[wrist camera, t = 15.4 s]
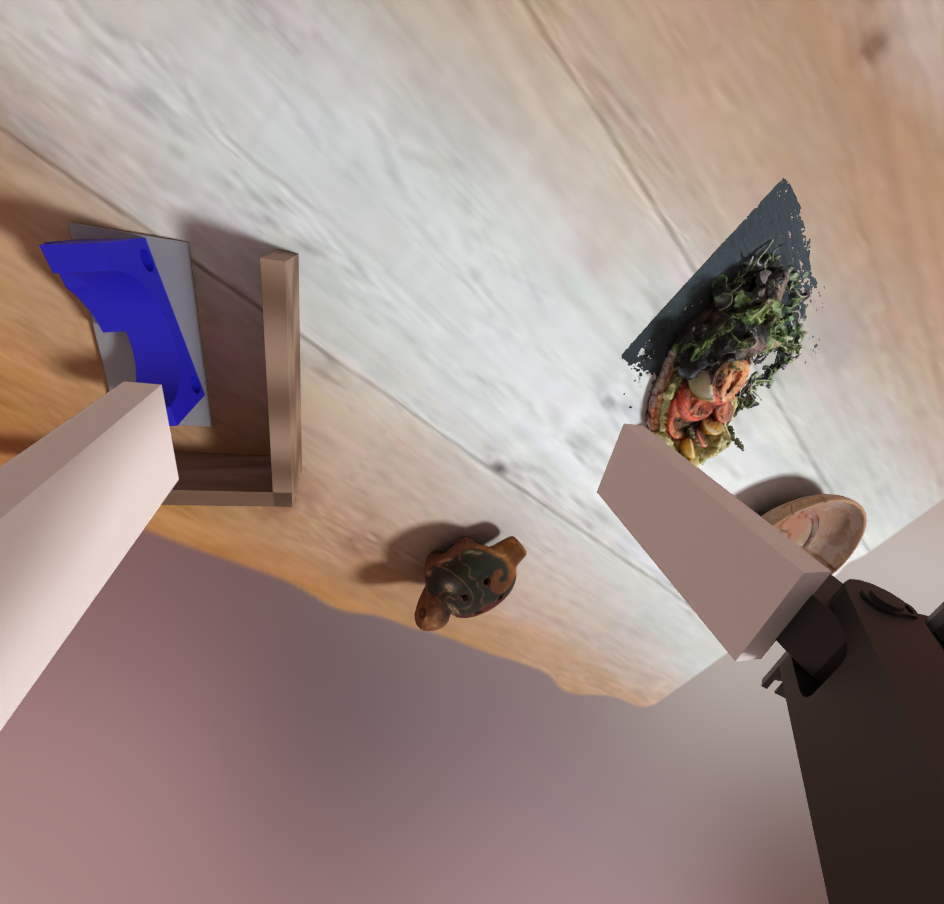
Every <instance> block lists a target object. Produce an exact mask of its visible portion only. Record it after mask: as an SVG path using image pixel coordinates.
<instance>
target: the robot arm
mask: <svg viewBox="0 0 944 904" xmlns="http://www.w3.org/2000/svg"><path fill="white" fill-rule="evenodd" d="M178 480H179V477H178V472H177V466H176V461H175V455H174V450H173V444H172V439H171V433H170V428H169V423H168V417H167V412H166V406H165V401H164V395H163V390H162V385H160V384H148V383H136V382H122V383H121V384H119V385H118V386H117V387H115V388H114V389H112V390H111V391H109V392H108V393H106V394H105V395H104V396H102V397H101V398H99V399H98V400H96V401H95V402H93V403H92V404H91V405H89V406H88V407H86V408H85V409H83V410H82V411H80V412H79V413H78V414H76V415H75V416H73V417H72V418H70V419H69V420H67V421H66V422H65V423H63V424H62V425H60V426H59V427H57V428H56V429H54V430H53V431H51V432H50V433H49V434H47V435H46V436H44V437H43V438H41V439H40V440H38V441H37V442H36V443H34V444H33V445H31V446H30V447H28V448H27V449H25V450H24V451H23V452H21V453H20V454H18V455H17V456H15V457H14V458H12V459H11V460H10V461H8V462H7V463H5V464H4V465H2V466H1V467H0V731H1V729H2V728H3V726H4V725H5V724H6V722H7V721H8V719H9V718H10V717H11V715H12V714H13V712H14V711H15V710H16V708H17V707H18V705H19V704H20V702H21V701H22V700H23V698H24V697H25V695H26V694H27V693H28V691H29V690H30V688H31V687H32V686H33V684H34V683H35V681H36V680H37V679H38V677H39V676H40V674H41V673H42V671H43V670H44V669H45V667H46V666H47V664H48V663H49V662H50V660H51V659H52V657H53V656H54V655H55V653H56V652H57V650H58V649H59V647H60V646H61V645H62V643H63V642H64V640H65V639H66V638H67V636H68V635H69V633H70V632H71V630H72V629H73V628H74V626H75V625H76V623H77V622H78V621H79V619H80V618H81V617H82V615H83V614H84V612H85V611H86V610H87V608H88V607H89V605H90V604H91V602H92V601H93V600H94V598H95V597H96V595H97V594H98V593H99V591H100V590H101V588H102V587H103V586H104V584H105V583H106V581H107V580H108V578H109V577H110V576H111V574H112V573H113V571H114V570H115V569H116V567H117V566H118V564H119V563H120V562H121V560H122V559H123V557H124V556H125V555H126V553H127V552H128V550H129V549H130V547H131V546H132V545H133V543H134V542H135V540H136V539H137V538H138V536H139V535H140V533H141V532H142V531H143V529H144V528H145V526H146V525H147V524H148V522H149V521H150V519H151V518H152V517H153V515H154V514H155V512H156V511H157V510H158V508H159V507H160V505H161V504H162V502H163V501H164V500H165V498H166V497H167V495H168V494H169V493H170V491H171V490H172V488H173V487H174V486H175V484H176V483H177V481H178ZM597 493H598V494H599V495H600V496H601V498H602V499H603V500H604V501H605V503H606V504H607V505H608V506H609V507H610V509H611V510H612V511H613V512H614V514H615V515H616V516H617V517H618V518H619V520H620V521H621V522H622V523H623V525H624V526H625V527H626V528H627V529H628V531H629V532H630V533H631V534H632V536H633V537H634V538H635V539H636V540H637V542H638V543H639V544H640V545H641V547H642V548H643V549H644V550H645V551H646V553H647V554H648V555H649V556H650V558H651V559H652V560H653V561H654V562H655V564H656V565H657V566H658V567H659V569H660V570H661V571H662V572H663V573H664V575H665V576H666V577H667V578H668V580H669V581H670V582H671V583H672V584H673V586H674V587H675V588H676V589H677V591H678V592H679V593H680V594H681V595H682V597H683V598H684V599H685V600H686V602H687V603H688V604H689V605H690V606H691V608H692V609H693V610H694V611H695V613H696V614H697V615H698V616H699V618H700V619H701V620H702V621H703V622H704V624H705V625H706V626H707V627H708V629H709V630H710V631H711V632H712V633H713V635H714V636H715V637H716V638H717V640H718V641H719V642H720V643H721V644H722V646H723V647H724V648H725V649H726V651H727V652H728V653H729V654H730V655H731V657H732V658H733V659H734V660H735V661H745V660H752V659H761V658H762V657H763V656H764V654H765V653H766V652H767V651H768V650H769V649H770V647H771V646H772V645H773V644H774V642H775V641H777V642H778V643H779V644H780V645H781V646H782V647H783V648H784V649H785V650H786V652H785V653H784V654H783V655H782V657H781V658H780V659H779V660H778V661H777V663H776V664H775V665H774V666H773V667H772V668H771V670H770V671H769V672H768V673H767V675H766V676H765V677H764V678H763V680H762V687H764V688H766V689H767V688H768V687H769V686H770V685H771V684H772V682H773V681H774V680H778V681H782V683H781V684H780V686H779V687H778V688H777V689H776V690H775V693H776V694H778V695H780V696H782V697H784V698H786V702H787V706H788V711H789V716H790V721H791V725H792V730H793V735H794V740H795V744H796V749H797V754H798V759H799V763H800V768H801V773H802V778H803V782H804V787H805V791H806V797H807V801H808V806H809V810H810V815H811V820H812V825H813V830H814V835H815V839H816V844H817V849H818V854H819V858H820V863H821V868H822V872H823V877H824V882H825V887H826V891H827V896H828V901H829V904H944V602H943V603H942V604H941V605H940V606H939V607H938V608H937V609H936V610H935V611H934V612H933V613H932V614H931V615H930V616H925V615H921V614H918V613H917V612H916V611H915V610H914V608H913V607H912V606H910V605H908V604H907V603H905V602H904V601H902V600H901V599H899V598H898V597H896V596H895V595H893V594H892V593H890V592H888V591H886V590H884V589H882V588H880V587H878V586H875V585H873V584H871V583H868V582H864V581H861V580H854V579H849V580H847V581H846V582H844V583H841V582H840V581H839V580H837V579H836V578H835V577H834V576H832V575H831V574H830V573H831V572H832V571H830V570H829V569H828V568H826V567H825V566H824V565H823V564H821V563H820V562H819V561H817V560H816V559H815V558H814V557H812V556H811V555H810V554H808V553H807V552H806V551H804V550H803V549H802V548H801V547H799V546H798V545H797V544H795V543H794V542H793V541H792V540H790V539H789V538H788V537H786V536H785V535H784V534H783V533H781V532H780V531H779V530H777V529H776V528H775V527H774V526H772V525H771V524H770V523H768V522H767V521H766V520H764V519H763V518H762V517H761V516H759V515H758V514H757V513H755V512H754V511H753V510H752V509H750V508H749V507H748V506H746V505H745V504H744V503H743V502H741V501H740V500H739V499H737V498H736V497H735V496H734V495H732V494H731V493H730V492H728V491H727V490H726V489H724V488H723V487H722V486H721V485H719V484H718V483H717V482H715V481H714V480H713V479H712V478H710V477H709V476H708V475H706V474H705V473H704V472H703V471H701V470H700V469H699V468H697V467H696V466H695V465H694V464H692V463H691V462H690V461H688V460H687V459H686V458H685V457H683V456H682V455H681V454H679V453H678V452H677V451H675V450H674V449H673V448H672V447H670V446H669V445H668V444H666V443H665V442H664V441H663V440H661V439H660V438H659V437H657V436H656V435H655V434H654V433H652V432H651V431H650V430H648V429H647V428H646V427H645V426H643V425H631V424H624V425H623V427H622V430H621V432H620V435H619V437H618V440H617V442H616V445H615V447H614V450H613V452H612V455H611V457H610V460H609V463H608V465H607V468H606V470H605V473H604V475H603V478H602V480H601V483H600V485H599V488H598V490H597Z"/></svg>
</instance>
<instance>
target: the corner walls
mask: <svg viewBox="0 0 944 904" xmlns="http://www.w3.org/2000/svg"><path fill="white" fill-rule="evenodd" d="M260 269H261V287H262V305H263V322H264V340H265V358H266V376H267V394H268V412H269V430H270V448H271V456H253V455H231V454H209V453H188V452H174V455H175V461H176V466H177V472H178V477H179V480H178V481H177V483H176V484H175V486H174V487H173V488H172V490H171V491H170V493H169V494H168V495H167V497H166V498H165V500H164V501H163V502H162V504H161V505H210V506H277V507H292V506H293V502H294V498H295V494H296V490H297V487H298V483H299V479H300V475H301V471H302V461H301V395H300V330H299V264H298V254H296V253H290V252H284V251H279V250H277V251H274V252H272V253H270V254H267V255H265V256H262V257H260Z"/></svg>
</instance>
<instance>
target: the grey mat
mask: <svg viewBox="0 0 944 904" xmlns="http://www.w3.org/2000/svg"><path fill="white" fill-rule="evenodd" d="M68 225H69V230H70V234H71V238H72V240H86V239H120V238H146V241H147V243H148V246H149V248H150V251H151V254H152V256H153V259H154V262H155V264H156V267H157V269H158V272H159V275H160V277H161V280H162V283H163V285H164V288H165V291H166V293H167V296H168V298H169V301H170V304H171V306H172V309H173V312H174V314H175V317H176V319H177V322H178V325H179V327H180V330H181V333H182V335H183V338H184V340H185V343H186V346H187V348H188V351H189V354H190V356H191V359H192V362H193V364H194V367H195V369H196V372H197V375H198V377H199V380H200V383H201V385H202V388H203V390H204V393H205V396H204V397H203V398H202V399H201V400H200V401H199V402H198V403H197V404H196V406H195V407H194V408H193V409H192V410H191V411H190V412H189V413H188V415H187V416H186V417H185V418H184V419H183V420H182V421H181V422H180V423H179V425H184V426H200V427H211V426H212V421H211V413H210V405H209V397H208V390H207V382H206V374H205V366H204V358H203V351H202V343H201V335H200V327H199V319H198V312H197V304H196V296H195V288H194V280H193V273H192V265H191V257H190V249H189V242H185V241H179V240H173V239H167V238H161V237H155V236H149V235H143V234H137V233H132V232H126V231H120V230H114V229H108V228H102V227H96V226H90V225H85V224H79V223H73V222H68ZM90 314H91V312H90ZM91 318H92V322H93V326H94V330H95V334H96V338H97V342H98V346H99V350H100V354H101V358H102V362H103V367H104V371H105V375H106V379H107V383H108V387H109V391H111V390H112V389H114V388H115V387H117V386H118V385H119V384H121V383H122V382H136V366H135V359H134V354H133V350H132V347H131V343H130V341H129V338H128V335H127V333H126V331H122V332H106V333H103V332H102V330H101V328H100V326H99V325H98V323H97V321H96V320H95V318H94V316H93V315H92V314H91Z"/></svg>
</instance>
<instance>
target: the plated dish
mask: <svg viewBox="0 0 944 904" xmlns="http://www.w3.org/2000/svg"><path fill="white" fill-rule="evenodd" d="M781 182H783V183H781ZM781 182H779V183H778V184H777V185H776V186H775V187H774V188H773V190H772V191H771V192H770V193H769V194H768V195H767V196H766V197H765V198H764V199H763V200H762V201H761V202H760V204H759V205H758V208H755V209H754V210H753V211H752V212H751V213H750V214H749V216H747V219H745V220H744V221H743V222H742V223H741V224H740V225H739V226H738V228H737V229H736V230H735V231H734V232H733V233H732V234H731V235H730V236H729V237H728V238H727V239H726V241H725V242H724V243H722V244H721V246H720V247H719V248H718V249H717V250H716V251H715V252H714V253H713V254H712V256H711V257H710V258H709V259H708V260H707V261H706V262H705V263H704V264H703V265H702V267H701V268H700V269H699V270H698V271H697V272H696V273H695V274H694V275H693V276H692V277H691V278H690V279H689V280H688V282H687V283H686V284H685V285H684V286H683V287H682V288H681V290H679V292H678V293H677V294H676V295H675V296H674V297H673V298H672V299H671V300H670V301H669V302H668V304H667V305H666V306H665V307H664V308H663V309H662V310H661V311H660V313H658V315H657V316H656V317H655V318H654V319H653V320H652V321H651V322H650V324H649V325H648V326H647V327H646V328H645V329H644V330H643V331H642V333H641V334H640V335H639V336H638V337H637V338H636V340H635V341H633V343H631V345H630V346H629V348H628V349H626V350H625V352H624V353H623V354H622V359H625V361H627V362H628V363H629V364H628V365H629V366H630V365H632V364H633V363H634V364H636V363H637V362H639V361H640V360H641V361H640V363H641V364H639V363H638V365H637V366H638V367H640V368H641V367H642V366H643V367H642V368H641V369H642V370H643V371H646V370H648V371H649V372H646V374H647V373H652V374H651V375H653V372H655V374H656V376H657V378H656V380H655V381H654V380H653V381H654V384H653V381H652V384H653V387H652V391H651V394H650V397H649V400H648V409H647V412H646V423H647V425H648V428H649V430H650V431H651V432H652V433H654V434H655V435H656V436H657V437H659V438H660V439H661V440H663V441H664V442H665V443H666V444H668V445H669V446H670V447H672V448H673V449H674V450H675V451H677V452H678V453H679V454H681V455H682V456H683V457H685V458H686V459H687V460H688V461H690V462H691V463H692V464H694V465H695V466H696V467H699V463H700V464H702V465H703V464H704V462H705V461H706V460H707V459H710V458H713V457H715V456H717V454H718V453H720V452H722V450H724V449H726V448H728V447H729V445H730V444H731V440H732V441H735V442H734V443H735V445H738V446H737V447H739V448H740V450H742V451H744V450H743V449H744V445H742V444H741V443H742V442H740V441H739V438H736V439H735V438H734V434H735V432H733V430H734V429H733V426H732V427H731V426H728V424H729V423H730V421H732V420H733V417H735V416H737V413H738V411H740V410H743V408H744V407H746V408H747V409H748V408H752V407H754V406H757V405H759V403H757V402H755V399H756V397H755V396H754V394H752V392H753V393H755V394H757V396H758V397H759V395H758V393H757V392H756V390H757V389H756V387H755V386H756V385H757V386H759V385H760V386H764V385H763V384H764V382H767V383H768V384H767V385H766V387H767V388H768V389H770V387H771V386H772V384H773V374H775V373H776V372H777V371H778V370H779V369H780V368H782V369H783V370H784V369H785V368H786V365H787V364H788V363H792V362H791V361H793V359H794V358H796V359H797V358H798V357H799V356H800V354H801V353H800V352H801V349H802V345H798V344H800V342H801V341H802V340H803V337H804V334H806V333H807V332H805V331H804V327H803V324H802V323H801V324H799V321H800V318H803V317H804V318H803V319H804V320H805V319H806V317H807V316H806V315H805V311H806V310H805V308H806V307H807V306H808V304H807V306H806V304H804V303H803V302H804V300H806V299H808V298H809V297H810V294H812V293H811V291H812V287H813V286H814V288H817V286H816V284H818V283H817V281H816V278H814V277H812V276H811V274H812V273H811V272H810V270H811V268H810V267H811V266H810V261H809V254H810V250H808V251H807V249H808V248H810V247H808V245H809V243H810V239H809V241H807V247H808V248H807V247H804V246H805V245H806V244H805V243H806V236H804V235H802V232H804V231H805V230H802V231H801V228H804V229H805V227H804V222H803V220H801V217H800V216H799V214H800V209H801V207H800V204H799V202H797V198H796V195H795V194H794V193H793V189H792V188H791V185H790V184H787V182H788V181H786V179H784V178H783V179H782V181H781ZM787 187H788V188H787ZM787 189H788V191H787V192H786V193H785V190H787ZM780 190H781V191H780ZM777 191H778V193H777ZM779 191H780V192H779ZM777 194H778V195H780V197H779V196H778V195H777ZM784 194H785V195H784ZM784 199H785V200H784ZM794 210H795V211H794ZM791 213H792V214H791ZM797 215H798V218H797ZM791 216H793V218H792V219H791ZM799 219H800V220H799ZM798 220H799V221H798ZM802 222H803V223H802ZM788 231H790V232H791V239H790V238H789V237H790V236H789V233H788ZM782 235H783V236H782ZM803 237H804V238H805V241H804V243H803ZM790 243H791V244H790ZM792 247H793V249H792ZM797 251H798V253H797ZM799 255H800V256H799ZM792 258H793V259H792ZM800 258H801V259H800ZM799 260H800V261H801V262H802V263H803V265H802V269H801V268H800V263H799V262H800V261H799ZM792 261H793V262H794V263H793V262H792ZM797 270H799V271H800V273H799V272H797ZM801 270H804V272H803V271H801ZM757 275H758V276H757ZM801 275H802V276H801ZM754 276H757V277H756V278H755V283H756V285H757V286H756V287H755V288H754V289H753V291H752V292H750V291H751V290H749V287H750V284H751V281H752V279H753V277H754ZM800 277H801V279H802V281H801V282H798V281H799V280H800ZM806 277H808V278H809V279H810V282H811V283H810V286H809V285H808V284H807V283H808V282H809V281H808V280H807V282H805V285H803V286H802V285H801V283H802V282H803V283H804V278H806ZM812 284H813V286H811V285H812ZM802 287H804V288H805V290H804V291H805V292H804V293H802V291H801V290H800V289H801V288H802ZM808 287H809V288H808ZM797 288H798V289H797ZM799 288H800V289H799ZM824 289H825V286H824ZM816 290H817V289H816ZM818 293H819V292H818ZM819 296H820V295H819ZM811 301H812V300H810V302H811ZM822 304H823V303H822ZM692 305H694V306H693V307H691V306H692ZM686 306H687V308H686V311H685V310H684V308H685V307H686ZM822 308H823V307H822ZM683 310H684V311H683ZM816 310H817V309H816ZM804 315H805V316H804ZM670 320H671V323H668V322H669V321H670ZM812 337H814V336H812ZM647 340H650V341H649V342H648V341H647ZM819 340H820V339H819ZM646 342H647V343H646ZM645 343H646V344H645ZM645 345H646V346H645ZM644 346H645V347H644ZM647 346H648V347H647ZM800 346H801V347H800ZM817 346H818V345H817V344H816V345H815V346H814V348H816V347H817ZM641 348H643V349H645V353H647V354H644V355H643V356H642V355H641V356H639V357H637V355H638V354H639V351H640V349H641ZM774 350H775V351H774ZM653 351H655V352H653ZM773 351H774V352H776V351H778V352H777V356H776V359H775V363H774V364H771V366H770V367H768V366H766V365H765V366H763V368H762V370H766V371H764V372H765V373H764V374H762V375H760V376H759V377H757V374H758V373H757V371H756V372H754V373H753V374H752V375H751V377H750V379H749V383H748V385H746V386H745V387H744V388H743V389H742V390H741V387H742V386H743V385H744V384H746V383H745V381H746V379H747V377H748V373H749V365H750V364H753V365H754V364H755V365H756V364H757V363H758V364H760V363H762V361H764V360H765V358H766V357H767V355H768V354H769V353H770V352H773ZM794 351H796V354H798V355H797V356H796V357H792V356H791V355H793V354H794ZM813 351H814V350H813ZM813 351H812V352H813ZM815 352H816V351H815ZM653 353H655V354H653ZM758 353H760V354H762V355H761V356H759V355H760V354H759V355H758V356H757V357H756V359H755V360H754V359H753V356H754V357H755V355H756V354H758ZM763 353H765V354H764V355H763ZM642 354H643V353H642ZM774 354H775V353H774ZM648 355H650V357H649V358H647V357H648ZM763 356H765V357H764V358H762V357H763ZM650 358H652V359H650ZM760 358H762V359H761V360H758V359H760ZM796 359H795V360H796ZM753 360H754V361H753ZM776 361H777V362H776ZM645 363H646V364H645ZM805 363H806V362H805ZM633 367H634V366H633ZM631 369H632V368H631ZM634 369H636V371H637V372H638V371H640V369H637V368H634ZM639 375H640V376H642V373H639ZM764 375H765V376H764ZM763 376H764V377H763ZM756 377H757V378H756ZM639 378H641V377H639ZM635 381H636V380H635ZM639 381H640V379H639ZM638 387H639V386H638ZM649 392H650V391H649ZM737 392H738V394H736V393H737ZM744 393H745V394H747V395H746V396H745V397H747V399H746V398H745V397H744V396H743V394H744ZM624 395H625V393H624ZM759 398H760V397H759ZM744 399H746V400H747V401H744V402H743V400H744ZM760 400H761V398H760ZM761 401H762V400H761ZM629 408H632V407H631V406H630V407H629Z"/></svg>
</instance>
